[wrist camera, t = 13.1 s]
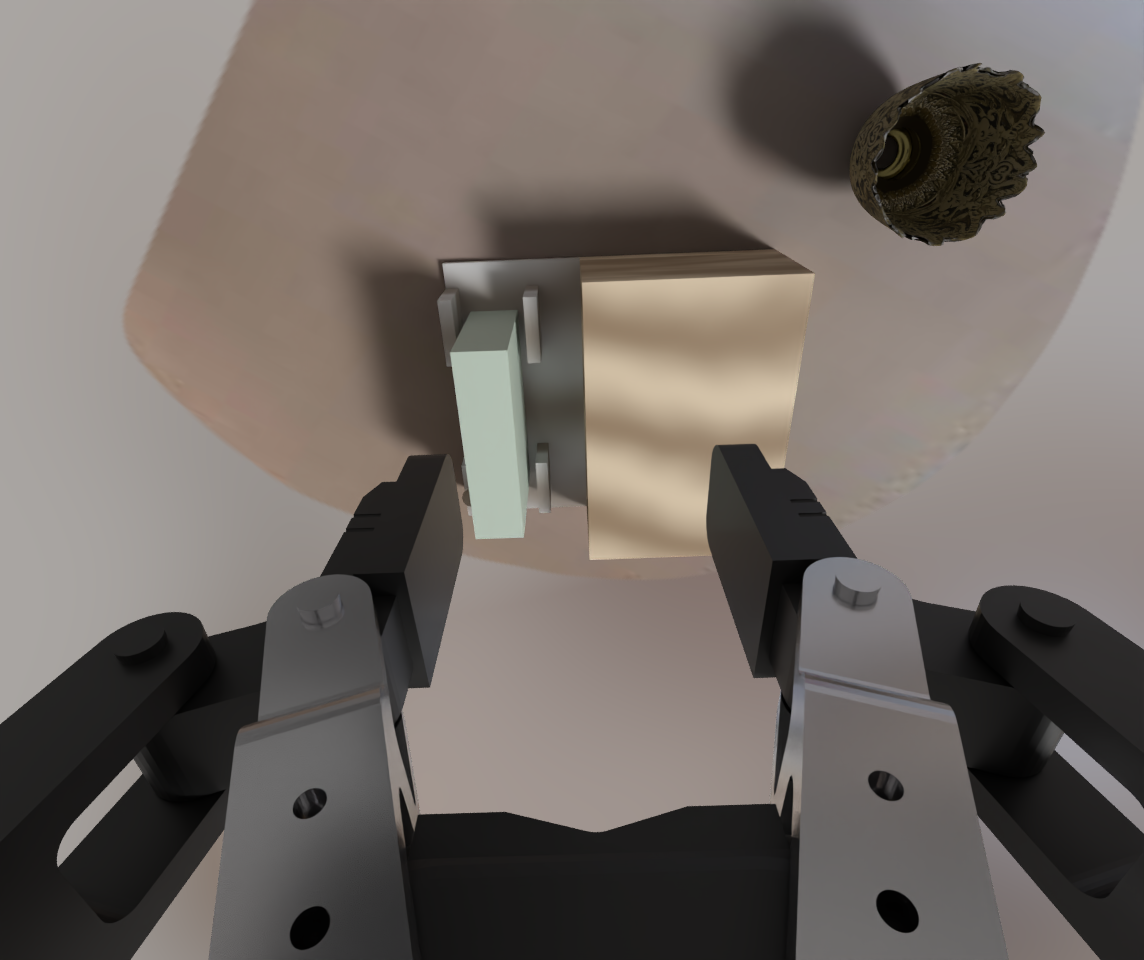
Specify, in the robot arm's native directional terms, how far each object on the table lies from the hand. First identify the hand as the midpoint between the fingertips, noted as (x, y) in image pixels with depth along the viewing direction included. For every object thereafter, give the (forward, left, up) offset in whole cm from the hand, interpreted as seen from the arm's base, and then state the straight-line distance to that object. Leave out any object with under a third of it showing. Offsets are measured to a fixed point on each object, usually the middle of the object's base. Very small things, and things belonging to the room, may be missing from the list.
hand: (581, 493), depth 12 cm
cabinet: (+10, +2, -29) cm, 31 cm away
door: (+10, -5, -29) cm, 31 cm away
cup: (-4, +18, -30) cm, 35 cm away
